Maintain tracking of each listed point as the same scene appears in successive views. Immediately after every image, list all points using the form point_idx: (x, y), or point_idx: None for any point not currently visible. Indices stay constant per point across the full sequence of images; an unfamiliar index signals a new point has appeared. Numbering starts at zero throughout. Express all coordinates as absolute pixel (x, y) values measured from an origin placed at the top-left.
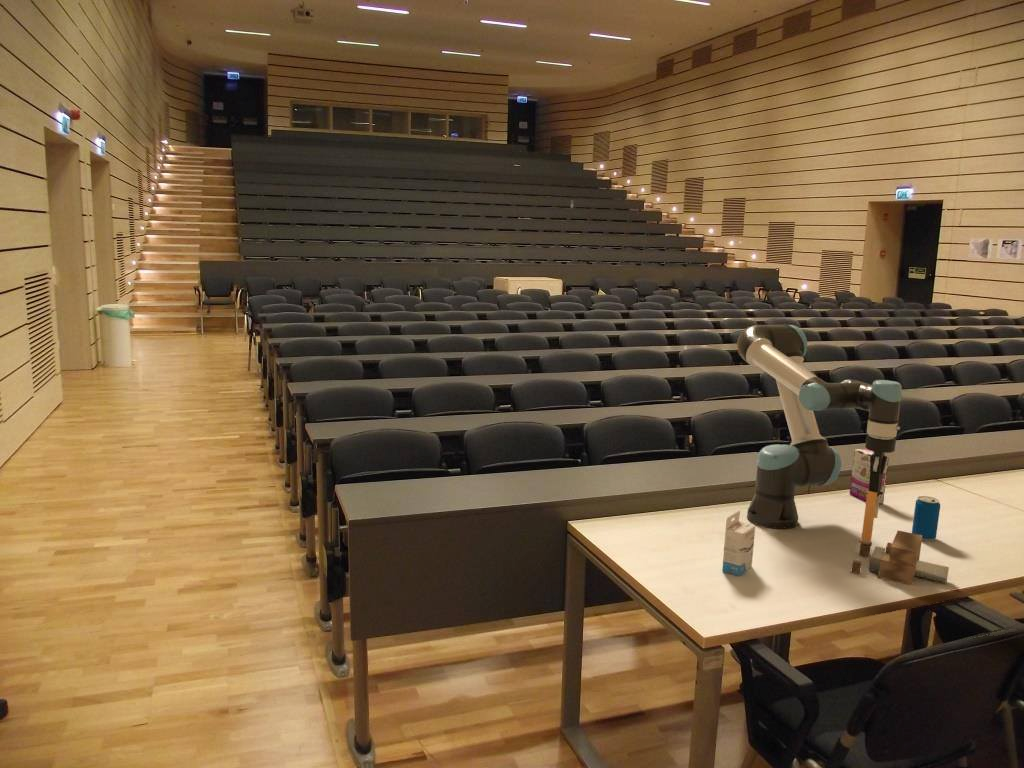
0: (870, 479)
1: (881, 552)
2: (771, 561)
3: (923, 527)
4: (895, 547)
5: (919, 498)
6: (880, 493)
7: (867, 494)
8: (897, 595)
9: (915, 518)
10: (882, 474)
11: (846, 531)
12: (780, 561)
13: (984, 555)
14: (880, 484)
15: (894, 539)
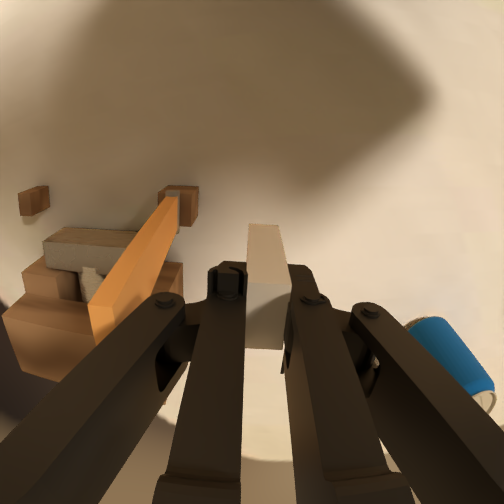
0: (52, 398)
1: (95, 269)
2: (11, 10)
3: None
4: (6, 326)
5: (481, 394)
6: (283, 359)
7: (96, 293)
8: (3, 289)
9: (439, 352)
10: (396, 460)
11: (391, 130)
12: (17, 22)
13: None
14: (288, 408)
15: (57, 330)
